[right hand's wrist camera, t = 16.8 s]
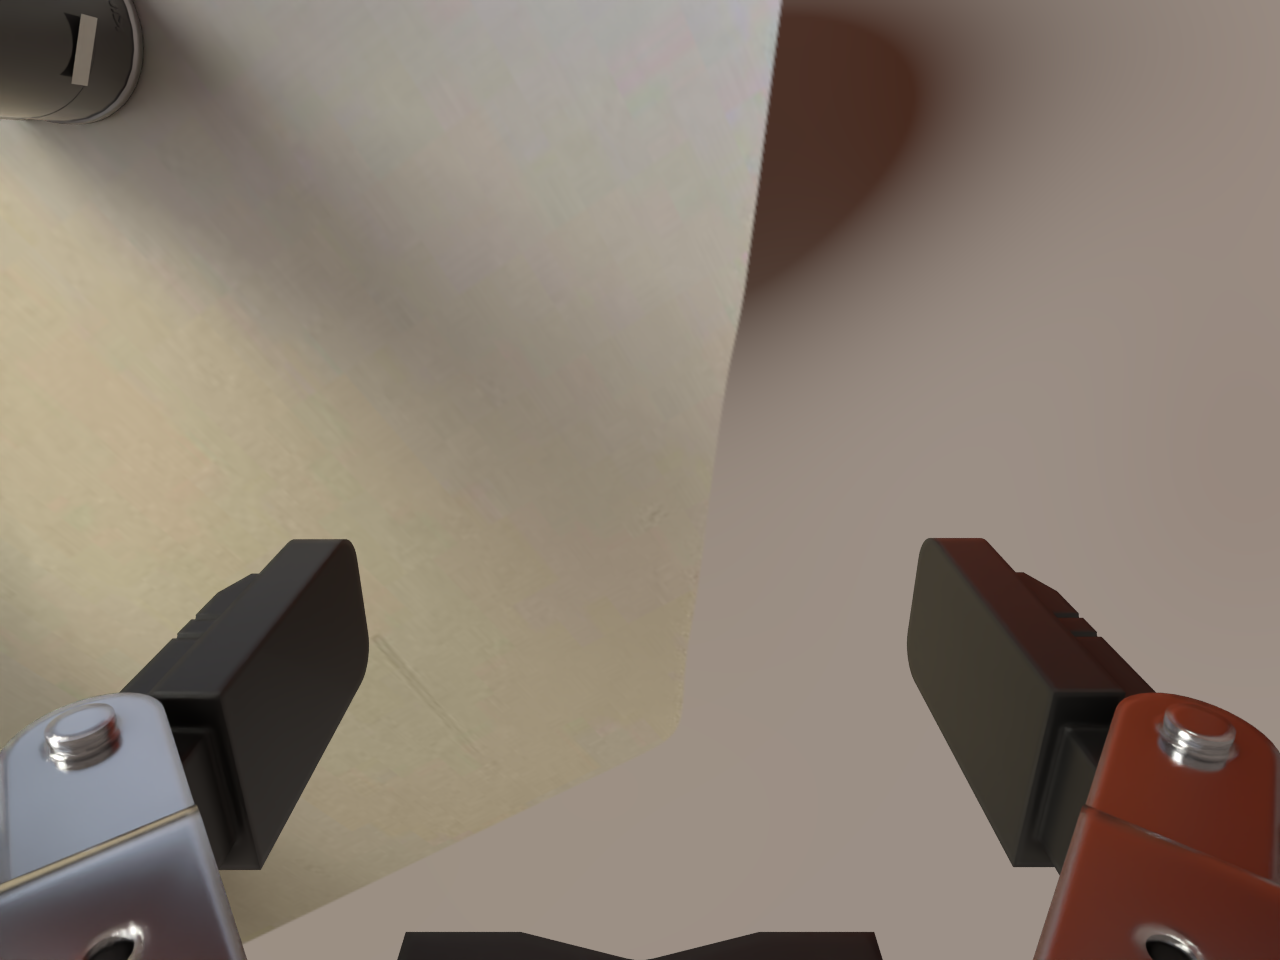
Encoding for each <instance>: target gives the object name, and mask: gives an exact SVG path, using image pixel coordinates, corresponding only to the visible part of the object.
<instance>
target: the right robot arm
mask: <svg viewBox="0 0 1280 960" xmlns="http://www.w3.org/2000/svg"><path fill="white" fill-rule="evenodd" d="M142 62H143V37H142V31H141V26H140V21H139V18H138V14H137V11H136V8H135V6H134V4H133V1H132V0H0V119H6V120H20V121H22V120H26V119H36V120H45V121H49V122H54V123H62V124H86V123H92V122H95V121H99V120H101V119H104V118H106V117H108V116H110V115H111V114H113V113H114V112H116V111H117V110H118V109H120V108H121V107H122V106H123V105H124V104H125V102H126V101H127V100H128V99H129V97H130V96H131V94H132V93H133V91H134V89H135V87H136V85H137V82H138V79H139V76H140V73H141V68H142ZM177 635H178V636H177V639H172V640H171V641H170V642H169V643H168V644H167V645H166V646H165V647H164V648H163V649H162V650H161V651H160V652H159V653H158V654H157V655H156V656H155V657H154V658H153V659H152V660H151V661H150V662H149V663H148V664H147V665H146V666H145V667H144V668H143V669H142V670H141V671H140V672H139V673H138V674H137V675H136V676H135V677H134V678H133V679H132V680H131V681H130V682H129V683H128V684H127V685H126V686H125V687H124V688H123V689H122V690H121V691H120V692H119V693H113V694H105V695H100V696H95V697H91V698H87V699H84V700H80V701H77V702H74V703H71V704H69V705H66V706H63V707H61V708H59V709H57V710H54V711H52V712H50V713H48V714H46V715H44V716H42V717H41V718H39V719H37V720H35V721H34V722H32V723H31V724H29V725H28V726H26V727H25V728H24V729H22V730H21V731H20V732H18V733H17V734H16V735H15V736H14V737H13V738H12V739H11V740H10V741H9V742H8V743H7V744H6V745H5V747H4V748H3V749H2V751H1V753H0V960H247V958H246V955H245V952H244V949H243V945H242V942H241V939H240V936H239V933H238V930H237V927H236V924H235V920H234V917H233V914H232V911H231V908H230V905H229V902H228V899H227V895H226V892H225V889H224V886H223V883H222V880H221V877H220V874H219V870H261V868H262V866H263V865H264V863H265V861H266V859H267V857H268V855H269V853H270V852H271V850H272V848H273V846H274V844H275V842H276V840H277V839H278V837H279V835H280V833H281V831H282V829H283V827H284V826H285V824H286V822H287V820H288V818H289V816H290V814H291V813H292V811H293V809H294V807H295V805H296V803H297V801H298V800H299V798H300V796H301V794H302V792H303V790H304V788H305V786H306V785H307V783H308V781H309V779H310V777H311V775H312V773H313V772H314V770H315V768H316V766H317V764H318V762H319V760H320V759H321V757H322V755H323V753H324V751H325V749H326V747H327V746H328V744H329V742H330V740H331V738H332V736H333V734H334V733H335V731H336V729H337V727H338V725H339V723H340V721H341V720H342V718H343V716H344V714H345V712H346V710H347V708H348V707H349V705H350V703H351V701H352V699H353V697H354V695H355V694H356V692H357V690H358V688H359V686H360V684H361V682H362V680H363V678H364V675H365V672H366V668H367V662H368V654H369V637H368V630H367V623H366V616H365V609H364V603H363V596H362V589H361V582H360V576H359V569H358V562H357V556H356V552H355V549H354V547H353V545H352V543H351V542H350V541H349V540H347V539H293V540H291V541H290V542H288V543H287V544H286V545H285V547H284V548H283V549H282V550H281V551H280V552H279V553H278V554H277V555H276V556H275V557H274V558H273V559H272V560H271V562H270V563H269V564H268V565H267V566H266V567H265V568H264V569H263V570H262V571H261V572H260V573H259V574H250V575H249V576H247V577H245V578H243V579H241V580H240V581H238V582H236V583H234V584H232V585H231V586H229V587H227V588H225V589H224V590H222V591H220V592H218V593H217V594H216V595H215V596H214V597H213V598H212V599H211V600H210V601H209V602H208V603H207V604H206V605H205V606H204V607H203V608H202V609H201V610H200V611H199V612H198V613H197V614H196V619H195V620H190V621H189V622H188V623H187V624H186V625H185V626H184V628H183V629H182V630H181V631H180V632H179V633H178V634H177ZM907 653H908V661H909V666H910V670H911V674H912V677H913V679H914V681H915V683H916V685H917V687H918V689H919V691H920V693H921V694H922V696H923V698H924V700H925V702H926V704H927V706H928V707H929V709H930V711H931V713H932V715H933V717H934V719H935V721H936V722H937V725H938V726H939V728H940V730H941V732H942V734H943V736H944V738H945V739H946V741H947V743H948V745H949V747H950V749H951V751H952V753H953V755H954V756H955V758H956V760H957V762H958V764H959V766H960V768H961V770H962V772H963V773H964V775H965V777H966V779H967V781H968V783H969V785H970V787H971V788H972V790H973V792H974V794H975V796H976V798H977V800H978V802H979V804H980V805H981V807H982V809H983V811H984V813H985V815H986V817H987V819H988V820H989V822H990V824H991V826H992V828H993V830H994V832H995V834H996V836H997V837H998V839H999V841H1000V843H1001V845H1002V847H1003V849H1004V851H1005V852H1006V854H1007V856H1008V858H1009V860H1010V862H1011V864H1012V866H1013V867H1055V868H1056V870H1057V872H1058V873H1059V875H1060V877H1059V880H1058V883H1057V886H1056V889H1055V892H1054V896H1053V899H1052V902H1051V905H1050V908H1049V911H1048V914H1047V917H1046V920H1045V924H1044V927H1043V930H1042V933H1041V936H1040V939H1039V942H1038V946H1037V949H1036V952H1035V955H1034V958H1033V960H1280V753H1279V751H1278V749H1277V748H1276V747H1275V745H1274V744H1273V743H1272V742H1271V741H1270V740H1269V739H1268V738H1267V737H1266V736H1265V735H1264V734H1263V733H1262V732H1260V731H1259V730H1258V729H1256V728H1255V727H1254V726H1252V725H1251V724H1249V723H1248V722H1246V721H1244V720H1243V719H1241V718H1239V717H1238V716H1236V715H1234V714H1232V713H1230V712H1228V711H1226V710H1223V709H1221V708H1219V707H1217V706H1214V705H1211V704H1209V703H1206V702H1203V701H1200V700H1196V699H1193V698H1189V697H1185V696H1180V695H1175V694H1167V693H1156V692H1155V691H1154V690H1153V689H1152V688H1151V687H1150V686H1149V685H1148V684H1147V683H1146V682H1145V681H1144V680H1143V679H1142V678H1141V677H1140V676H1139V675H1138V674H1137V673H1136V672H1135V671H1134V670H1133V669H1132V668H1131V667H1130V665H1129V664H1128V663H1127V662H1126V661H1125V660H1124V659H1123V658H1122V657H1121V656H1120V655H1119V654H1118V653H1117V652H1116V651H1115V650H1114V649H1113V648H1112V647H1111V646H1110V645H1109V644H1108V643H1107V642H1106V641H1105V640H1104V639H1103V638H1102V637H1097V632H1096V631H1095V630H1094V629H1093V628H1092V627H1091V626H1090V625H1089V624H1088V622H1086V620H1085V619H1084V618H1079V614H1078V612H1077V611H1076V610H1075V609H1074V608H1073V607H1072V606H1071V605H1070V604H1069V603H1068V602H1067V601H1066V600H1065V599H1064V598H1063V597H1062V596H1061V595H1060V594H1059V593H1058V592H1057V591H1056V590H1054V589H1052V588H1050V587H1048V586H1047V585H1045V584H1043V583H1041V582H1040V581H1038V580H1036V579H1034V578H1032V577H1031V576H1029V575H1027V574H1025V573H1024V572H1015V571H1014V570H1013V569H1012V568H1011V567H1010V566H1009V565H1008V564H1007V563H1006V561H1005V560H1004V559H1003V558H1002V557H1001V556H1000V555H999V554H998V553H997V552H996V551H995V549H994V548H993V547H992V546H991V545H990V544H989V543H988V542H987V541H986V540H985V539H982V538H928V539H926V540H925V541H924V543H923V545H922V547H921V550H920V554H919V559H918V566H917V573H916V580H915V586H914V593H913V600H912V607H911V614H910V621H909V628H908V636H907ZM397 960H632V959H626V958H622V957H618V956H614V955H610V954H606V953H602V952H598V951H594V950H590V949H586V948H582V947H578V946H574V945H570V944H566V943H562V942H558V941H554V940H550V939H546V938H542V937H538V936H534V935H530V934H526V933H522V932H406V933H405V937H404V940H403V943H402V946H401V950H400V953H399V956H398V959H397ZM648 960H883V959H882V956H881V953H880V950H879V946H878V943H877V940H876V937H875V933H874V932H758V933H754V934H750V935H746V936H742V937H738V938H734V939H730V940H726V941H722V942H718V943H714V944H710V945H706V946H702V947H698V948H694V949H690V950H686V951H682V952H678V953H674V954H670V955H666V956H662V957H658V958H654V959H648Z"/></svg>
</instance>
